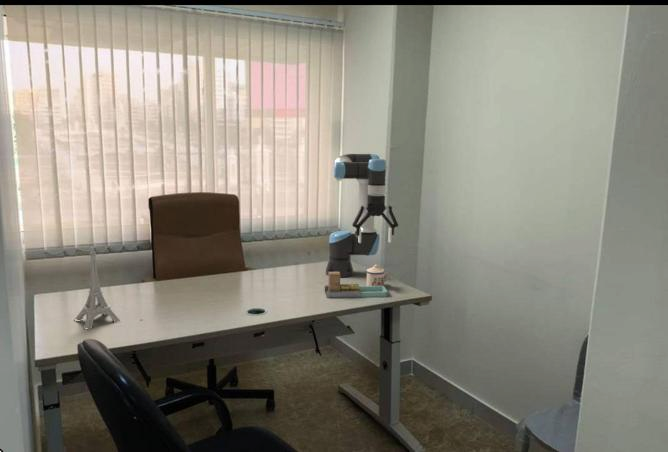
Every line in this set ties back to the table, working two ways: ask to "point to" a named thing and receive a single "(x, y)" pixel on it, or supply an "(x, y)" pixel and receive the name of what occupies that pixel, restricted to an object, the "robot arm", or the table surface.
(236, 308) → the table surface
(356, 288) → the yellow cube
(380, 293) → the tray
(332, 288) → the block
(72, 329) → the table surface
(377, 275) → the teacup with lid
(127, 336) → the table surface
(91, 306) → the eiffel tower
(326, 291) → the slot board
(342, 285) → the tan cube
